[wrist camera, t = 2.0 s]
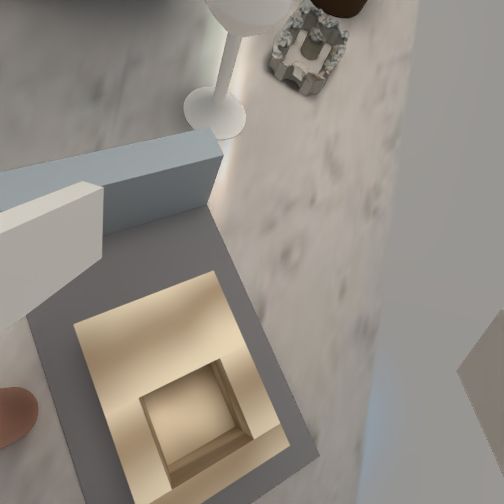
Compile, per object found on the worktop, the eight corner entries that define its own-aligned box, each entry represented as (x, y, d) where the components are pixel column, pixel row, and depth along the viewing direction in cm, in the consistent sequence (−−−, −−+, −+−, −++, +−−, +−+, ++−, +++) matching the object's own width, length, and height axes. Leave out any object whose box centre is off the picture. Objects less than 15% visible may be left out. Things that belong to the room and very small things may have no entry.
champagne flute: (169, 111, 35) (201, -330, 13) (208, 75, 37) (288, -339, 15) (223, 151, 35) (345, -213, 13) (257, 113, 38) (406, -242, 16)
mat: (314, 453, 28) (319, 455, 27) (117, 586, 22) (116, 596, 21) (193, 182, 33) (194, 177, 32) (3, 234, 27) (-2, 230, 26)
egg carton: (312, 105, 41) (328, 79, 37) (258, 70, 40) (269, 39, 36) (343, 54, 45) (361, 26, 41) (295, 21, 44) (308, -11, 40)
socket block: (261, 429, 27) (290, 445, 21) (148, 498, 23) (147, 538, 18) (201, 288, 29) (213, 270, 23) (89, 333, 26) (73, 324, 20)
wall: (206, 204, 31) (223, 154, 24) (9, 264, 26) (-47, 223, 18) (196, 181, 32) (210, 126, 25) (0, 235, 26) (-59, 184, 19)
